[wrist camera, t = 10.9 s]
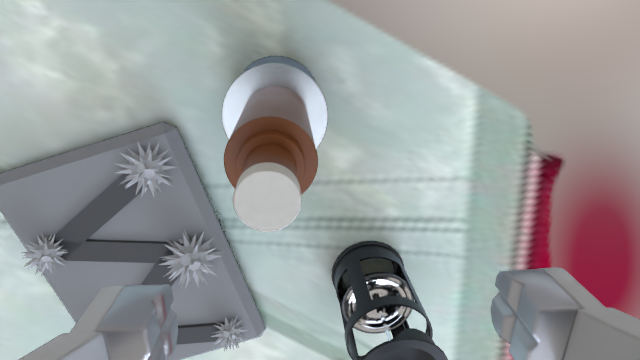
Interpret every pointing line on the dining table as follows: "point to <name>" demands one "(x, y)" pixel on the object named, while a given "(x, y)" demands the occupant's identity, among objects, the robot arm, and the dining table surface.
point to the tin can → (276, 74)
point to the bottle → (271, 159)
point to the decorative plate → (132, 233)
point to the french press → (381, 306)
